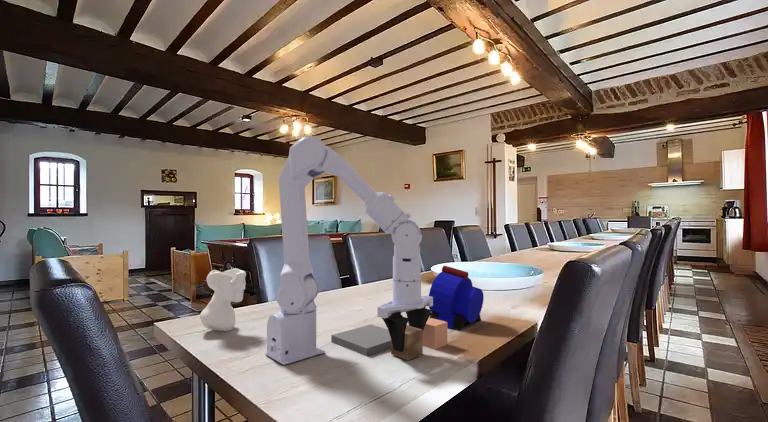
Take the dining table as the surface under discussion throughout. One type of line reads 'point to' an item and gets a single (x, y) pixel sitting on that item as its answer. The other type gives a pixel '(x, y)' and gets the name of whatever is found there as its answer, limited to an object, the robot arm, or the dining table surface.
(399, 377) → the dining table surface
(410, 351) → the walnut block
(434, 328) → the terracotta block
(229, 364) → the dining table surface
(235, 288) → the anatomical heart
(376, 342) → the base plate
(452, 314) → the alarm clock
